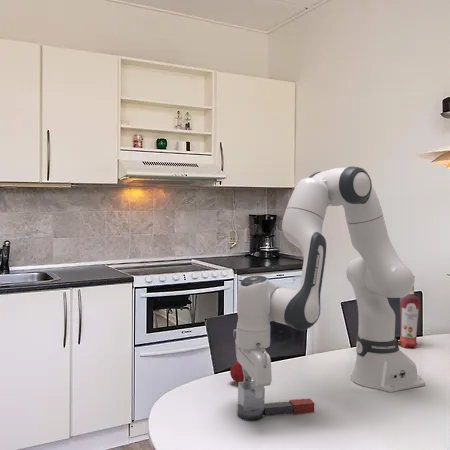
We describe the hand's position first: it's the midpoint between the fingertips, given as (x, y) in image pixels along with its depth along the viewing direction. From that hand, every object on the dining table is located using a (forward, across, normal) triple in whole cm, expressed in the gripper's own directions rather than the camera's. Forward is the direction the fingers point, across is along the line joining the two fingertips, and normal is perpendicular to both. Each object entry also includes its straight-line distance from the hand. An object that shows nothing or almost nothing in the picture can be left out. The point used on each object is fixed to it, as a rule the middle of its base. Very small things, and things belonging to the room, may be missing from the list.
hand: (252, 389), depth 131 cm
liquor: (+8, +47, -79) cm, 92 cm away
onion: (+7, +22, -3) cm, 23 cm away
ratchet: (+7, 0, -6) cm, 9 cm away
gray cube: (+4, 0, 0) cm, 4 cm away
